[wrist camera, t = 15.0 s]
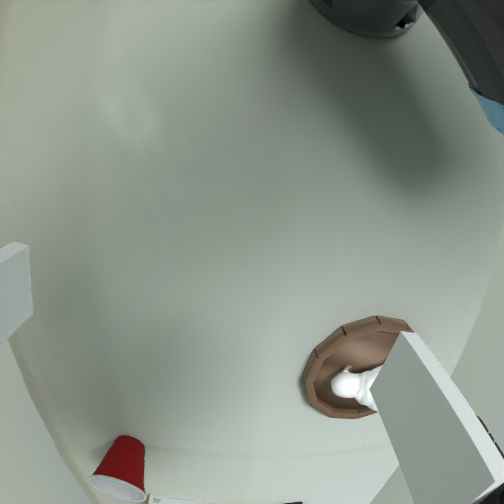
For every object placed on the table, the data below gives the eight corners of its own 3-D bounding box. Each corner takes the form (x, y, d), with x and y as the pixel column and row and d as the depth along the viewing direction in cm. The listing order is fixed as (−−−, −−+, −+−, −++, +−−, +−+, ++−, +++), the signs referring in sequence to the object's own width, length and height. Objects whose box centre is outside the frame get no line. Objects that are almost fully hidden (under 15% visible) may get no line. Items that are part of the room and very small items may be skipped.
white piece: (409, 424, 35) (329, 426, 36) (395, 386, 43) (324, 385, 44) (427, 392, 33) (342, 393, 34) (408, 355, 41) (334, 352, 42)
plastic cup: (121, 458, 52) (107, 501, 41) (96, 427, 48) (76, 472, 37) (166, 459, 51) (156, 507, 40) (143, 427, 48) (126, 479, 36)
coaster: (330, 306, 40) (334, 314, 38) (437, 325, 41) (443, 332, 39) (288, 405, 45) (289, 414, 43) (386, 411, 47) (389, 419, 45)
